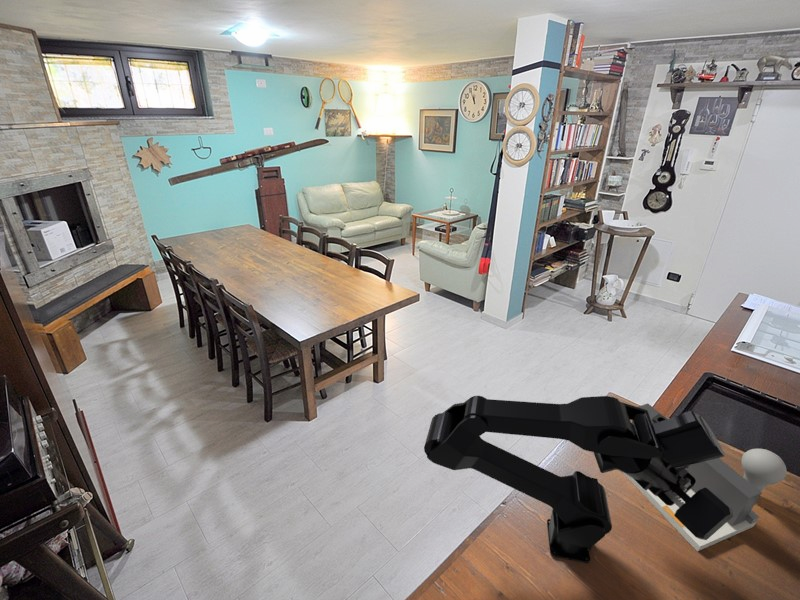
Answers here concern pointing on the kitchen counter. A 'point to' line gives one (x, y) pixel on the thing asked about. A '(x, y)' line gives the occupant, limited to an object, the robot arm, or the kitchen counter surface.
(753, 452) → the lightbulb
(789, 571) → the kitchen counter surface
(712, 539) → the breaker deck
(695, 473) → the block
